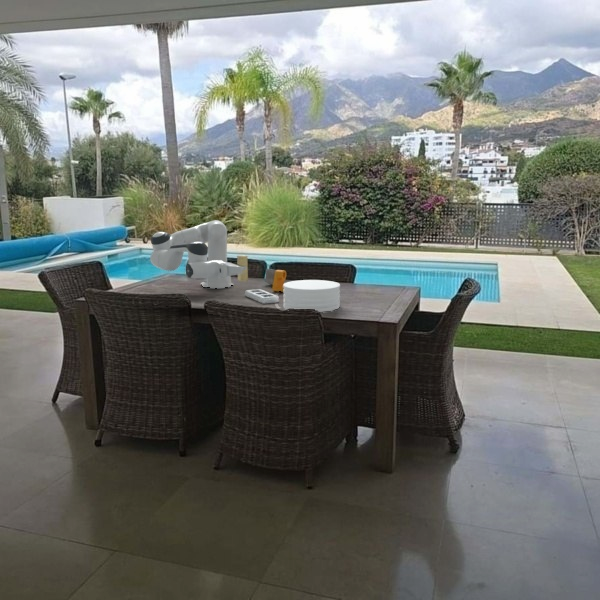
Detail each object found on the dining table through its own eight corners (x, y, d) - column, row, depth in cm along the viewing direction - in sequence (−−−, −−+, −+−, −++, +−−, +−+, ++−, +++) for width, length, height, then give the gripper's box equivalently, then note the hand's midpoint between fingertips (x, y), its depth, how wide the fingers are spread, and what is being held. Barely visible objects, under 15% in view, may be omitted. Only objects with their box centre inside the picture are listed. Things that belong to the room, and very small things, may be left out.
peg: (237, 280, 302) (237, 255, 300) (244, 280, 304) (244, 255, 301) (240, 281, 299) (240, 256, 296) (247, 281, 300) (247, 256, 298)
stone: (287, 286, 346) (287, 270, 344) (282, 287, 342) (281, 270, 340) (269, 283, 356) (269, 267, 354) (264, 284, 353) (264, 268, 351)
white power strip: (245, 295, 317) (245, 290, 317) (260, 294, 321) (260, 289, 321) (262, 303, 296) (262, 298, 296) (278, 302, 300) (278, 296, 300)
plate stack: (337, 301, 303) (337, 279, 301) (342, 313, 276) (342, 289, 273) (283, 301, 302) (283, 280, 300) (283, 313, 275) (283, 289, 272)
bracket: (283, 293, 325) (283, 272, 323) (272, 292, 329) (272, 271, 326) (292, 290, 335) (292, 269, 332) (281, 289, 338) (281, 268, 336)
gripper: (212, 272, 304) (237, 270, 310) (225, 277, 286) (251, 275, 292) (211, 260, 303) (236, 258, 309) (225, 265, 285) (251, 263, 291)
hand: (244, 267), depth 300 cm, fingers closed on peg, 4 cm apart
